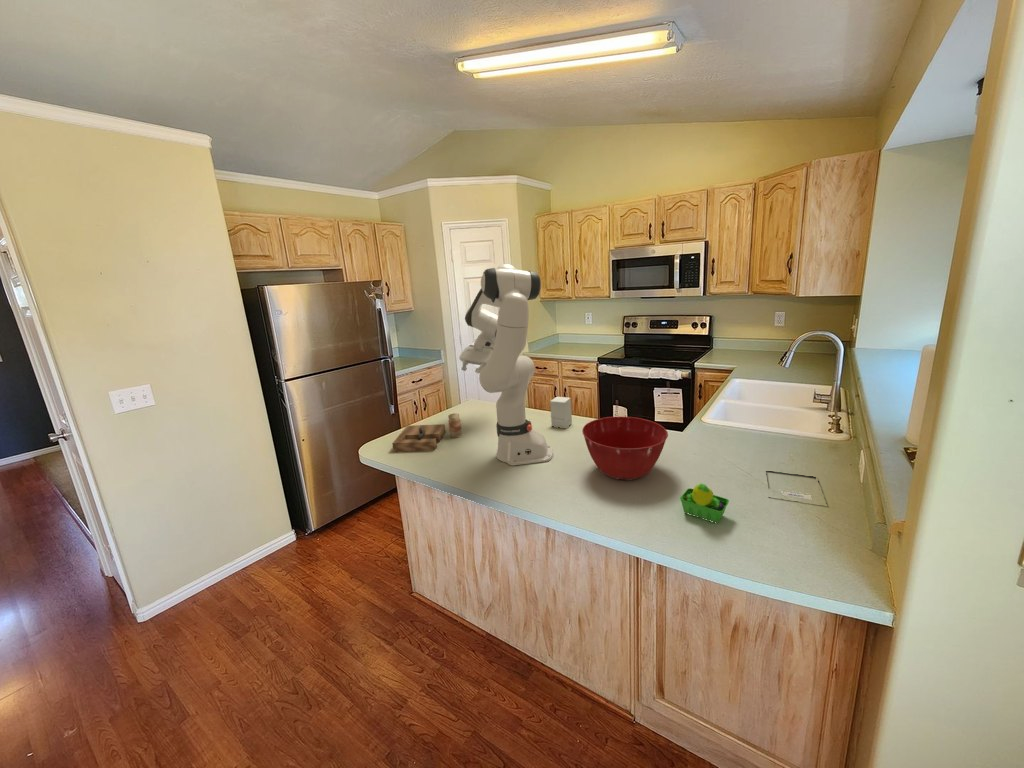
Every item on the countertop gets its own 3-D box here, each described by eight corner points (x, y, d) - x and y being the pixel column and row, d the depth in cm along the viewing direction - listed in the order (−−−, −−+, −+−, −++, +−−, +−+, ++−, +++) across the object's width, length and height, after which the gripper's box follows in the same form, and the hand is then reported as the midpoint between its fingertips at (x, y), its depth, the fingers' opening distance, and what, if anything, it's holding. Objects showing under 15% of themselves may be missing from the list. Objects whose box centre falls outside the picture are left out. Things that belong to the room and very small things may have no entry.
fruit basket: (728, 515, 119) (731, 479, 116) (719, 530, 113) (721, 493, 110) (687, 502, 127) (689, 468, 124) (676, 516, 121) (677, 481, 118)
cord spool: (462, 433, 193) (460, 413, 191) (460, 438, 188) (458, 417, 186) (451, 434, 194) (449, 413, 191) (449, 438, 189) (446, 417, 186)
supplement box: (572, 423, 195) (571, 397, 192) (565, 429, 189) (564, 402, 186) (558, 421, 199) (556, 396, 196) (551, 426, 193) (549, 400, 190)
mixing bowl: (663, 455, 158) (664, 416, 153) (670, 495, 131) (671, 449, 127) (587, 451, 165) (586, 414, 161) (579, 488, 139) (577, 445, 135)
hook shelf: (445, 432, 196) (443, 416, 194) (435, 450, 177) (432, 432, 175) (408, 433, 198) (405, 417, 196) (393, 452, 179) (390, 434, 177)
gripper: (464, 341, 201) (451, 365, 197) (495, 344, 188) (481, 370, 183) (472, 348, 205) (459, 372, 201) (502, 351, 192) (489, 377, 188)
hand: (470, 371), depth 192 cm, fingers open, 8 cm apart
